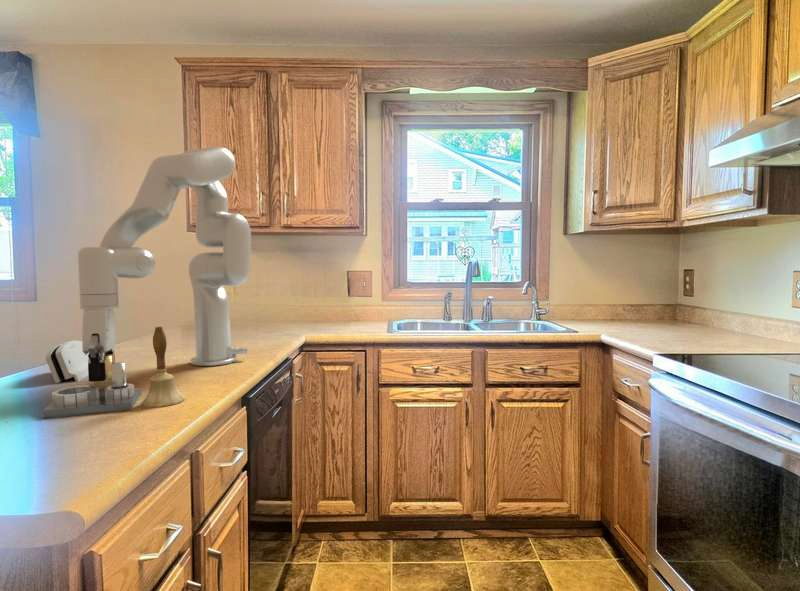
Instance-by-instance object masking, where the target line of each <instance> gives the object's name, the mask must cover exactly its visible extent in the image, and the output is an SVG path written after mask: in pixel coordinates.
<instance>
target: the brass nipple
mask: <svg viewBox="0 0 800 591" xmlns="http://www.w3.org/2000/svg"><path fill="white" fill-rule="evenodd" d="M114 355H115V353H114V354H104V361H103V362H105V371H106V379H105V380H104V381H93V385H92V386H97V387H98V390H99V391H105V388H106V387H108V386H112V370H111V364H112V363H115V362H116V361H115V362H114ZM99 356H100V354H99Z"/></svg>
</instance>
